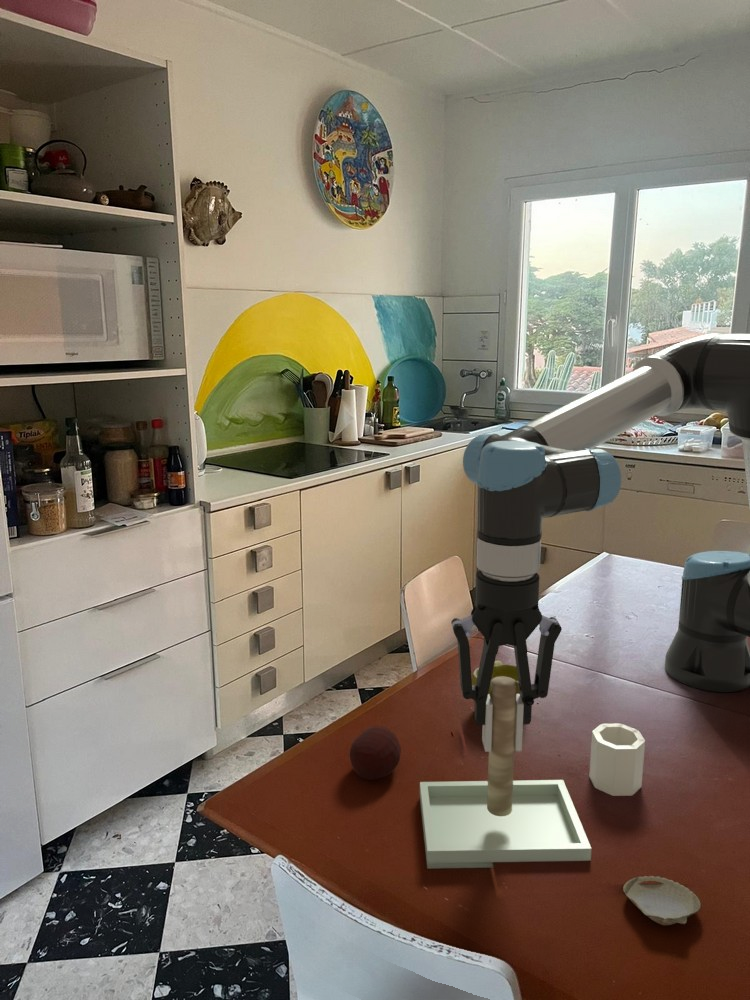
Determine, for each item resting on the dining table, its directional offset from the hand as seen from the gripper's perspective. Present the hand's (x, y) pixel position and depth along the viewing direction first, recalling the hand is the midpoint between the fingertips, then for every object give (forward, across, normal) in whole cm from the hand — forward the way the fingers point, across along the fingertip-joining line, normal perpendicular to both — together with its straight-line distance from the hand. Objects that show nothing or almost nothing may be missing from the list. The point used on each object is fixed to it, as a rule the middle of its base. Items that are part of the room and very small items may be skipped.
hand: (501, 745), depth 98 cm
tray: (+12, 0, 0) cm, 12 cm away
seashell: (+13, -16, +14) cm, 25 cm away
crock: (+12, -18, -9) cm, 24 cm away
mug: (+13, -5, -30) cm, 33 cm away
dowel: (+9, 0, 0) cm, 9 cm away
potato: (+13, +16, -14) cm, 25 cm away
